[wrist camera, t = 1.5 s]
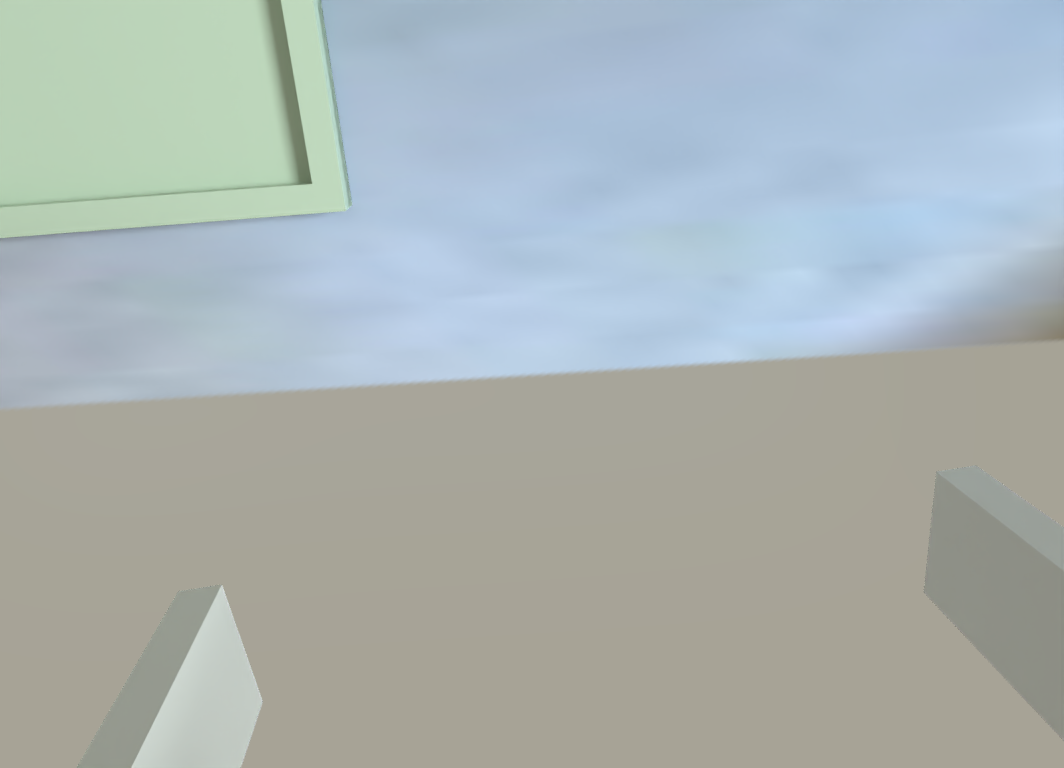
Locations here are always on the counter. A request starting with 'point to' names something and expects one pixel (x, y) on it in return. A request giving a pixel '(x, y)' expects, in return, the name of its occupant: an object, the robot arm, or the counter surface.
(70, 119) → the tray
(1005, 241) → the counter surface
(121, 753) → the robot arm
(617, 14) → the counter surface
